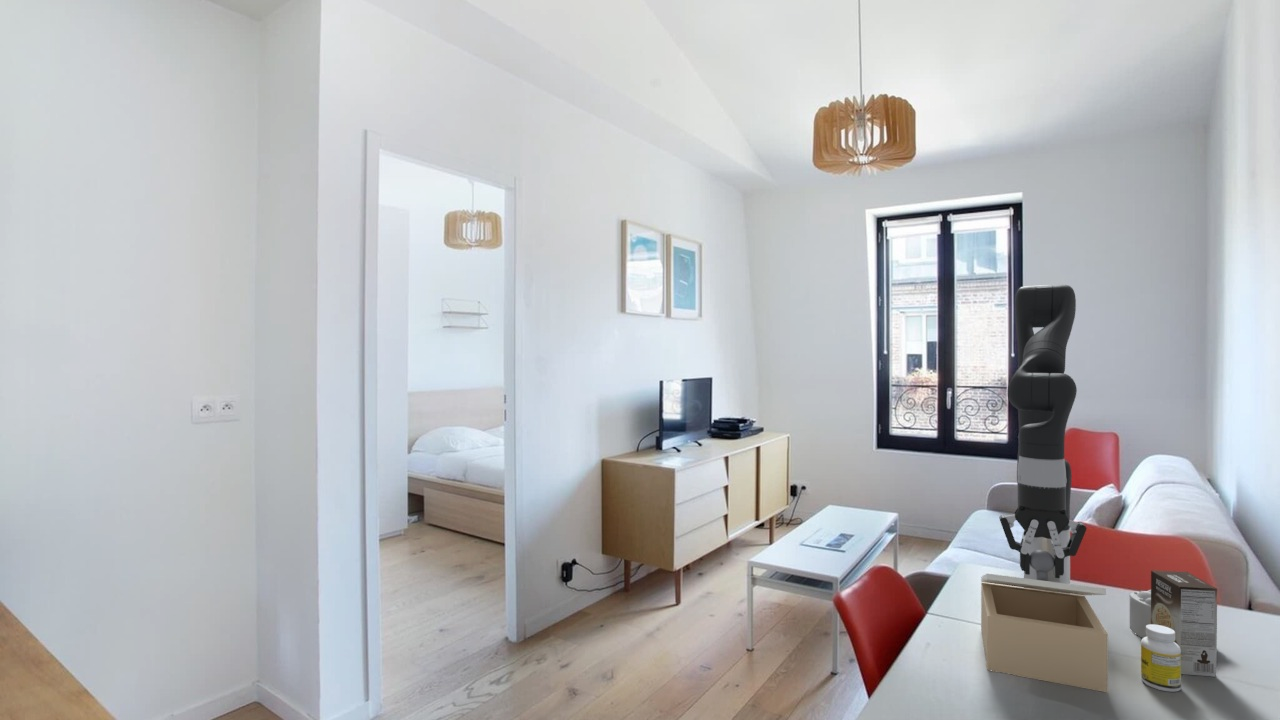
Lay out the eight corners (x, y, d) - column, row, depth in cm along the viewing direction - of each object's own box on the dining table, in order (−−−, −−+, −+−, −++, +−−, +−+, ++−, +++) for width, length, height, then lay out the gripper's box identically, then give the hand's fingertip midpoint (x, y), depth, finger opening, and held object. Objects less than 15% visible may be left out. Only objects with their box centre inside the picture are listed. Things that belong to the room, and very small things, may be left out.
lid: (981, 581, 133) (980, 549, 135) (1084, 595, 125) (1082, 561, 127) (987, 579, 117) (986, 542, 119) (1106, 594, 109) (1103, 555, 111)
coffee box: (1148, 651, 123) (1148, 568, 123) (1186, 654, 122) (1186, 571, 122) (1178, 674, 114) (1178, 585, 114) (1219, 678, 113) (1219, 588, 113)
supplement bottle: (1141, 673, 115) (1141, 619, 115) (1180, 683, 111) (1180, 627, 111) (1140, 685, 110) (1140, 629, 110) (1181, 696, 107) (1181, 638, 107)
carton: (981, 629, 133) (981, 582, 133) (1084, 646, 126) (1084, 595, 125) (987, 670, 116) (987, 615, 116) (1107, 692, 108) (1107, 633, 108)
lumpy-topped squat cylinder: (1186, 655, 122) (1186, 610, 122) (1115, 628, 134) (1115, 587, 134) (1220, 647, 125) (1220, 603, 125) (1148, 621, 137) (1148, 581, 137)
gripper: (1083, 481, 117) (1083, 574, 117) (995, 475, 123) (995, 563, 123) (1092, 488, 110) (1092, 587, 110) (998, 482, 116) (998, 575, 116)
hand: (1041, 574), depth 116 cm, fingers closed on lid, 4 cm apart
